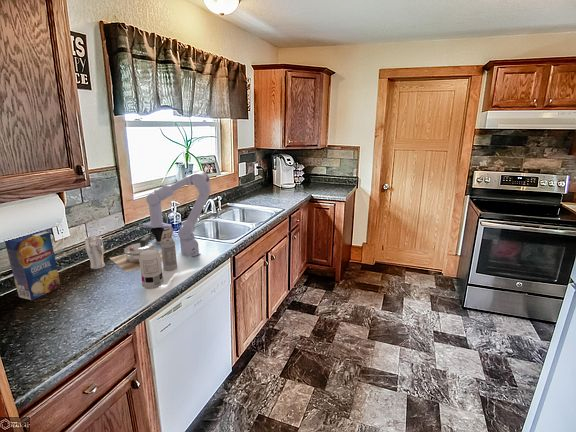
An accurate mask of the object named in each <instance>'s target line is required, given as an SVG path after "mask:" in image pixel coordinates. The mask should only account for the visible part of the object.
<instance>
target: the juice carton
mask: <svg viewBox="0 0 576 432" xmlns="http://www.w3.org/2000/svg"><path fill="white" fill-rule="evenodd" d="M39 231H40V232H36V233H33V234H30V235H27V236H23V237H19V238H16V239H12V240H8V241H5V240H4V244H5V247H6V252H7V255H8V260H9V263H10V267H11V271H12V276H13V279H14V283H15V288H16V292H17V297H18V298H21V299H25V300H30V301H34V300H36V299H37V298H40V297H42V296H44V295H46V294H47V293H48V294H49V293H50V292H52V291H54V290H56V289H58V288H61V287H62V284H61V280H60V275H59V271H58V266H57V262H56V256H55V251H54V246H53V242H52V237H51V232H50V231H46V230H45V231H44V230H39Z"/></svg>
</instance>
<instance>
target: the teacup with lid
mask: <svg viewBox="0 0 576 432" xmlns="http://www.w3.org/2000/svg"><path fill="white" fill-rule="evenodd" d="M173 234H174V227H172V228H171V229H168V228H164V231H163V233H162V237H161V241H160V242H157V241H156V240H155V243H157V244H161V243H162V240H163V239H166V238H172V239H173Z"/></svg>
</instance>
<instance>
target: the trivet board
mask: <svg viewBox="0 0 576 432" xmlns="http://www.w3.org/2000/svg"><path fill="white" fill-rule="evenodd" d="M154 249H157V248H156V247H154ZM157 250H158V252H159V253H160V258H161V263H163V259H162V250H161V251H160V249H157ZM109 259H110V260H111V261H112V262H114V263H115V264H116V265H117V266H118V267H120V268H121V269H122V270H123V271H124V272H126V273H128V272H132V271H135V270H138V269H139V270H140V263H139V264H132V263H128V262H127V261H126V254H125V253H123V254H121V255H117V256H113V257H109Z"/></svg>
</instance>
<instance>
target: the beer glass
mask: <svg viewBox="0 0 576 432" xmlns="http://www.w3.org/2000/svg"><path fill="white" fill-rule="evenodd" d="M84 244H85V245H84V246H85V251H86V254H87V256H88V259H89V262H90V269H92V270H97V269H101V268H104V267H105V266H106V264H105V262H104V243H103V239H102V236H101V235H93V236H92V235H91V236H88V237H85V238H84Z"/></svg>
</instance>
